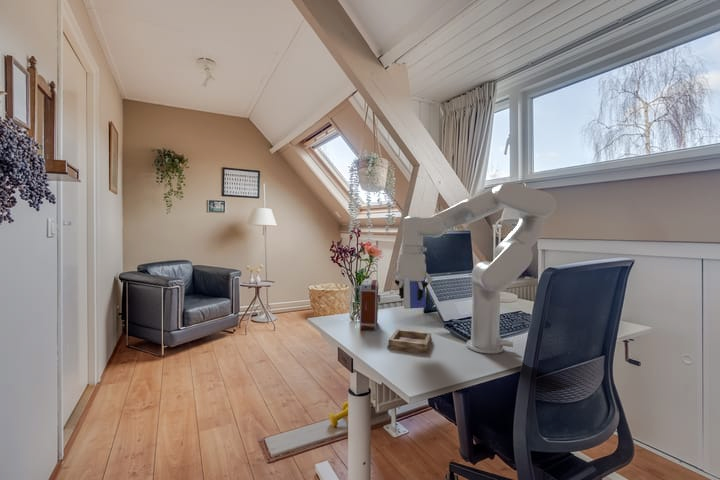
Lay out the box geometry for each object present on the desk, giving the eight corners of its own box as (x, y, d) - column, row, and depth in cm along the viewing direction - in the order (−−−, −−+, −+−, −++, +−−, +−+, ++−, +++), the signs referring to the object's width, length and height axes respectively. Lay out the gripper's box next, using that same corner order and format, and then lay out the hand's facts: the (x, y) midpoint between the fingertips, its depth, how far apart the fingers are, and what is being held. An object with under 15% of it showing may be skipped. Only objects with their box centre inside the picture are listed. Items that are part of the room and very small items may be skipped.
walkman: (423, 306, 126) (422, 274, 125) (425, 307, 123) (424, 275, 122) (402, 307, 125) (402, 275, 124) (404, 308, 122) (403, 276, 122)
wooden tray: (431, 341, 129) (432, 332, 129) (426, 354, 116) (427, 344, 115) (396, 336, 133) (396, 328, 133) (387, 348, 120) (387, 339, 120)
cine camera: (380, 318, 159) (381, 277, 158) (378, 331, 140) (379, 284, 139) (361, 318, 160) (362, 276, 159) (356, 330, 140) (357, 283, 140)
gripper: (437, 250, 124) (435, 299, 125) (391, 248, 129) (390, 294, 130) (435, 252, 117) (433, 303, 117) (387, 249, 122) (385, 298, 123)
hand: (410, 298), depth 124 cm, fingers closed on walkman, 5 cm apart
